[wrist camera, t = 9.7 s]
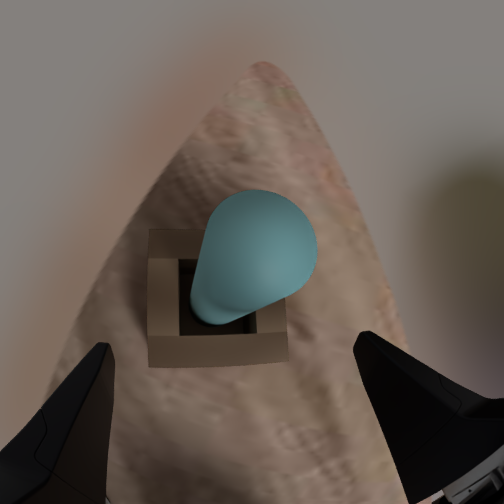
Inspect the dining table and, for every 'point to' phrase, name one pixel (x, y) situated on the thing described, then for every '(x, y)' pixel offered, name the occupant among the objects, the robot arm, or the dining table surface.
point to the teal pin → (251, 257)
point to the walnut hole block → (187, 329)
